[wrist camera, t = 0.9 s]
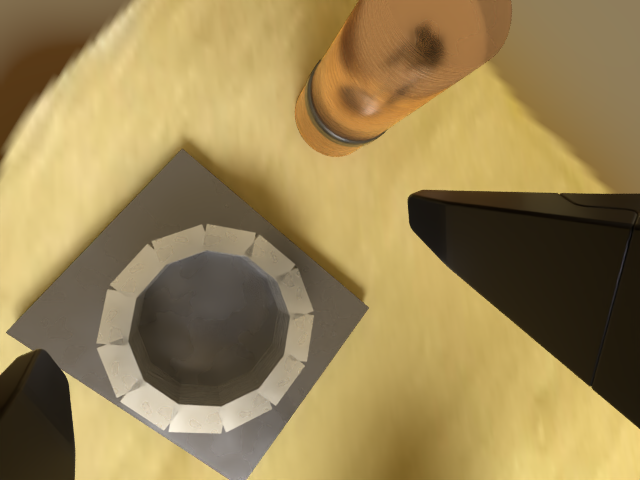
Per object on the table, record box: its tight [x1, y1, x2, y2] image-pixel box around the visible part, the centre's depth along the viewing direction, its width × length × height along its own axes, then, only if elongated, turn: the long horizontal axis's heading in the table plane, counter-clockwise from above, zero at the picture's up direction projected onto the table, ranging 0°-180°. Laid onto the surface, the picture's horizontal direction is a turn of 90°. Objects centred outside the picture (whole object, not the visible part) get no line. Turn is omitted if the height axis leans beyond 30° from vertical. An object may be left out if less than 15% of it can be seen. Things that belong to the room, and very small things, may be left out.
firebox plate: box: [6, 149, 369, 480], centre depth 20 cm, size 14×12×4 cm
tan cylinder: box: [295, 0, 512, 157], centre depth 19 cm, size 5×5×12 cm
